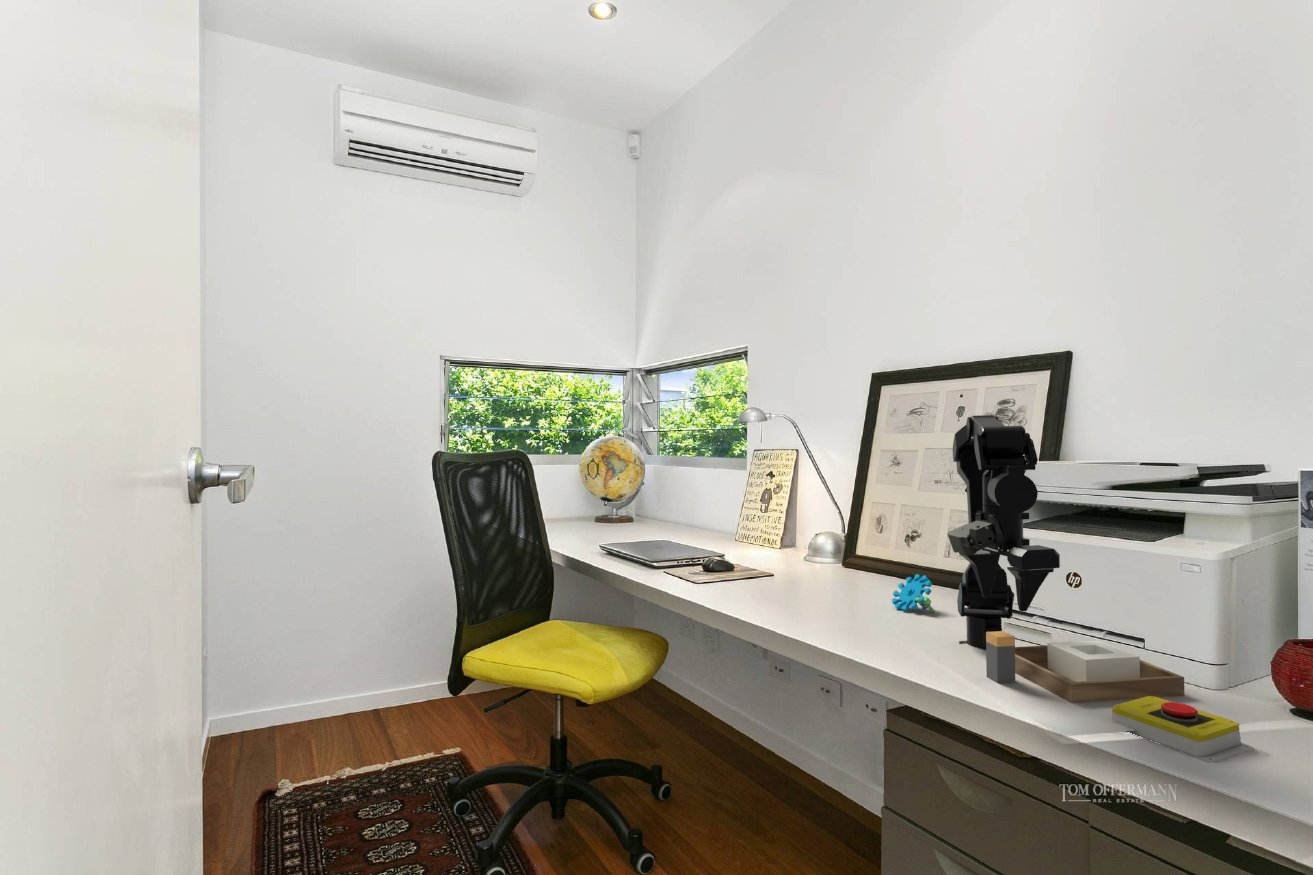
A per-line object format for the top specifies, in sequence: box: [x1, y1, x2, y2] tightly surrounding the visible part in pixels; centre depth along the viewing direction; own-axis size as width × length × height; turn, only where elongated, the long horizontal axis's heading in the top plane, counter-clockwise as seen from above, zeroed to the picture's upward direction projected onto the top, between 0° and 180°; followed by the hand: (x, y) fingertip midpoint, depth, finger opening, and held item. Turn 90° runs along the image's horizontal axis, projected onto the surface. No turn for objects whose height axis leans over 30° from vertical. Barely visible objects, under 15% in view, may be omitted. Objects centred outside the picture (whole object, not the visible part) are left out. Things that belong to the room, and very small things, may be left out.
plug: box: [985, 630, 1016, 684], centre depth 116 cm, size 3×3×8 cm
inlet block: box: [1046, 639, 1141, 682], centre depth 117 cm, size 9×9×4 cm
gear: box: [891, 573, 936, 614], centre depth 165 cm, size 11×6×10 cm
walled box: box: [1015, 644, 1186, 704], centre depth 115 cm, size 18×18×4 cm
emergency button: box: [1111, 696, 1255, 764], centre depth 96 cm, size 9×4×15 cm
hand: (1003, 603), depth 115 cm, fingers open, 9 cm apart
